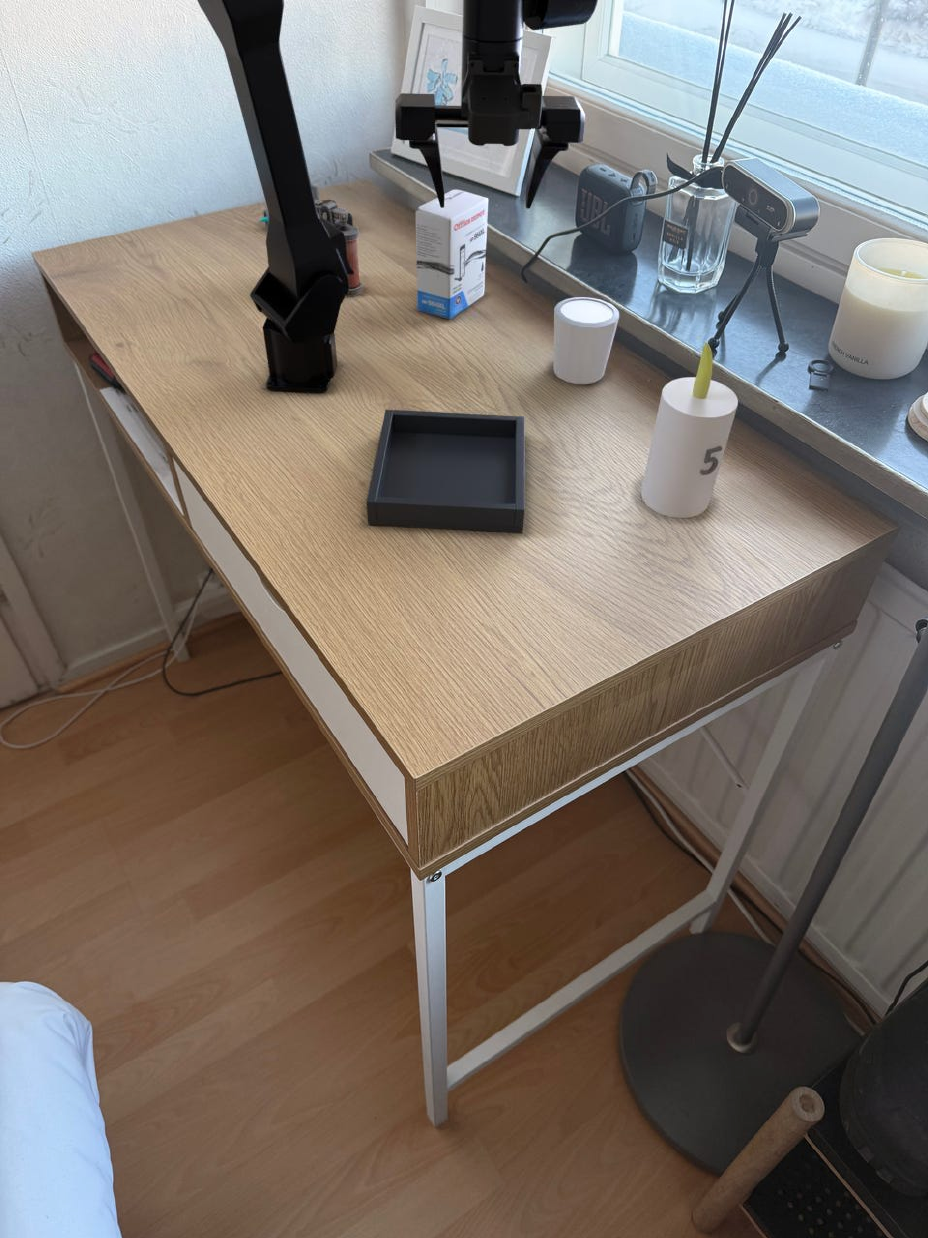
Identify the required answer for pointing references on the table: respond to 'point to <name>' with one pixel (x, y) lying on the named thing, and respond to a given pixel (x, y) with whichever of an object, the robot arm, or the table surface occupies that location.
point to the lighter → (339, 220)
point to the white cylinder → (583, 338)
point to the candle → (688, 442)
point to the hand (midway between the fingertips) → (485, 206)
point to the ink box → (451, 253)
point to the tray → (449, 472)
